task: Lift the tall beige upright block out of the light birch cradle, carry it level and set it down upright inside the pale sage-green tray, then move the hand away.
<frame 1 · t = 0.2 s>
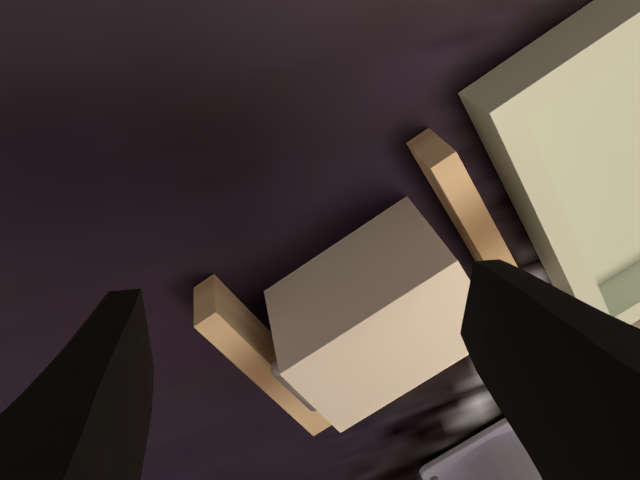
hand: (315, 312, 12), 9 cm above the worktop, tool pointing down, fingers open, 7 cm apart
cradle: (358, 276, 23), on the worktop
tall beige upright block: (357, 274, 23), on the worktop
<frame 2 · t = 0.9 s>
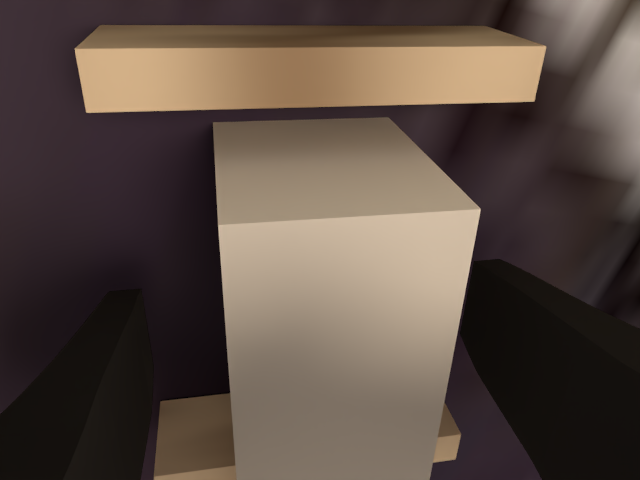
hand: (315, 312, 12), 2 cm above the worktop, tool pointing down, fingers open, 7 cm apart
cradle: (301, 254, 14), on the worktop
tall beige upright block: (300, 251, 14), on the worktop
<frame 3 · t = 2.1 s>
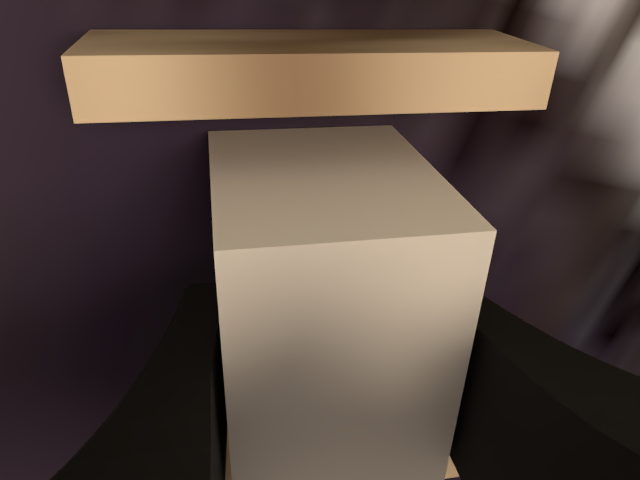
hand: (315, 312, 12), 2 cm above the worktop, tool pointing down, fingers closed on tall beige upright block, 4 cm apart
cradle: (301, 266, 13), on the worktop
tall beige upright block: (300, 266, 13), on the worktop, touching gripper
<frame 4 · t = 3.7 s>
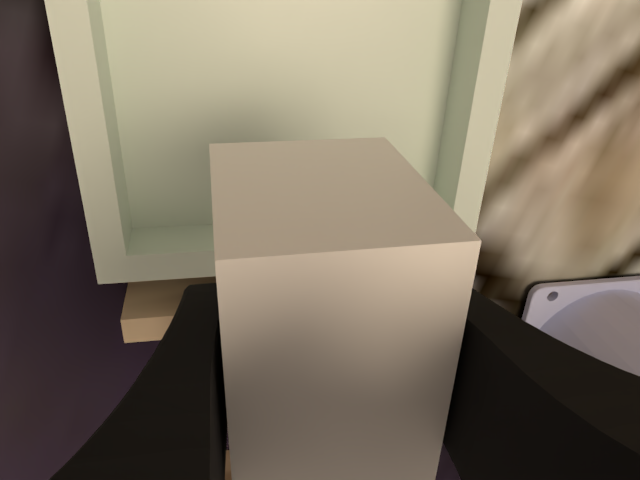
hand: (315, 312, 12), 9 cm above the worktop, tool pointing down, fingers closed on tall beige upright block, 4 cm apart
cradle: (239, 378, 24), on the worktop
tray: (288, 62, 18), on the worktop
tall beige upright block: (298, 272, 14), point 7 cm above the worktop, touching gripper
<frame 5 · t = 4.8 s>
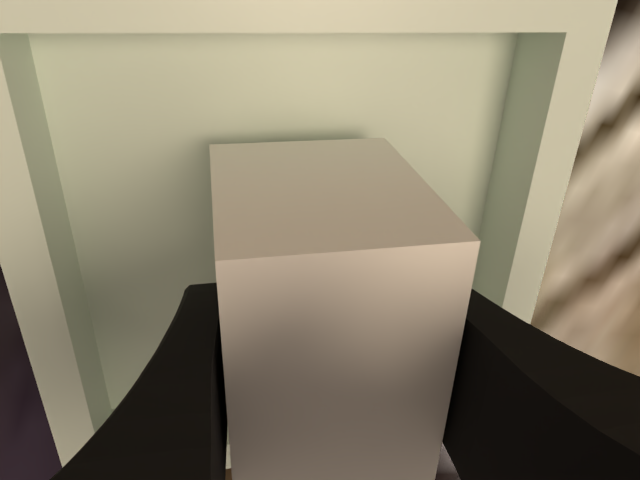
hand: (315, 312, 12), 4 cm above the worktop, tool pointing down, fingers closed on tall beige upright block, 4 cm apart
tray: (289, 226, 15), on the worktop
tall beige upright block: (298, 272, 14), point 2 cm above the worktop, touching gripper
when the fingers open (4 cm above the worktop, at t = 5.5 s): tall beige upright block drops 1 cm, resting on tray.
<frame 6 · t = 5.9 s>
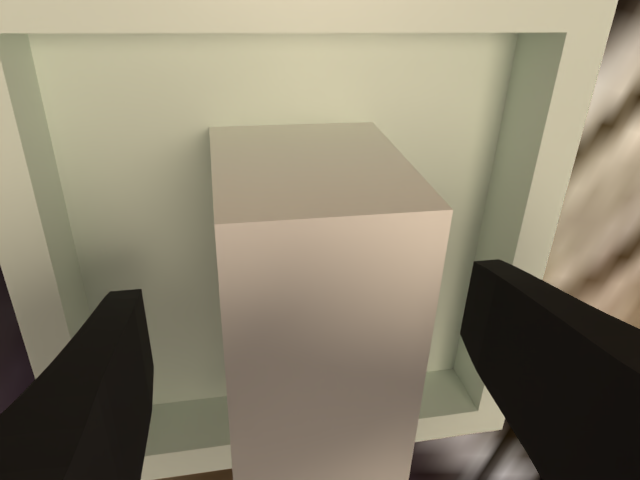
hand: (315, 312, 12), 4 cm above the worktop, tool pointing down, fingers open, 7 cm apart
tray: (289, 227, 15), on the worktop
tall beige upright block: (292, 249, 15), point 1 cm above the worktop, touching tray
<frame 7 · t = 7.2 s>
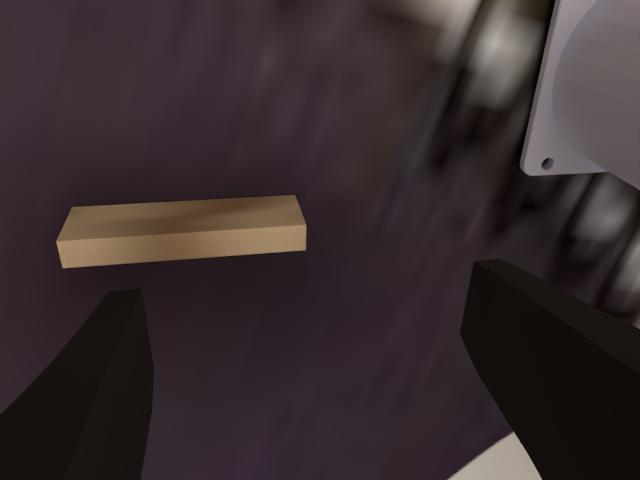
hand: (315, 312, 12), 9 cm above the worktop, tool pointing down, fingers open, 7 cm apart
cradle: (174, 76, 18), on the worktop
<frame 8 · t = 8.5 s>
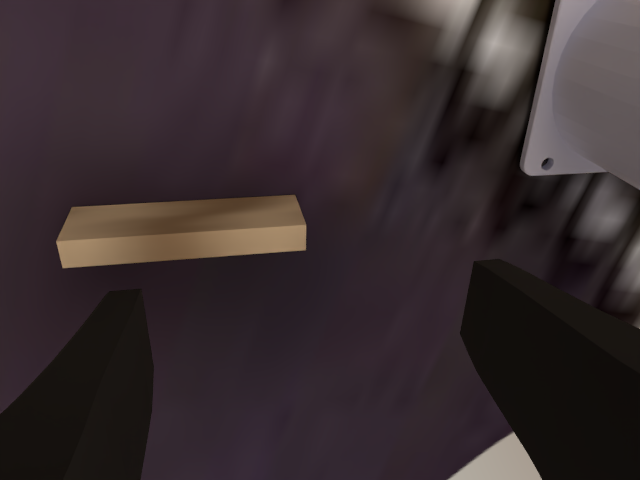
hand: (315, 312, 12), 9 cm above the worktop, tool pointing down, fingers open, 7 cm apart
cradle: (174, 75, 18), on the worktop
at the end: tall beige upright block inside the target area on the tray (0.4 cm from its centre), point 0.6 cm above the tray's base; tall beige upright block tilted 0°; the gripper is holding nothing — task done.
